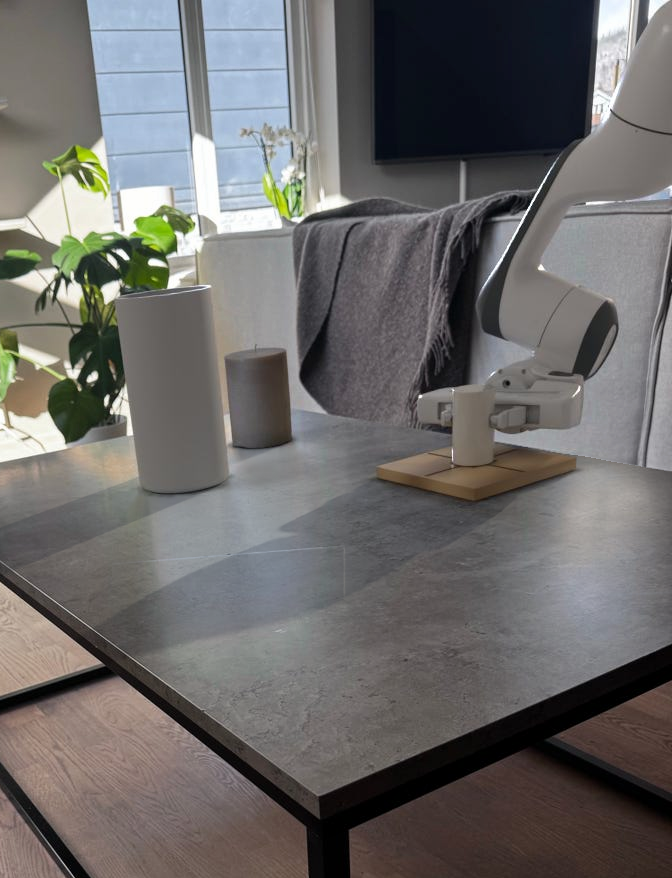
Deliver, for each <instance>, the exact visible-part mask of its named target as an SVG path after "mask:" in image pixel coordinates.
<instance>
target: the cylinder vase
mask: <svg viewBox="0 0 672 878" xmlns="http://www.w3.org/2000/svg"><path fill="white" fill-rule="evenodd" d="M212 294H213V293H212V286H211V285H193V286H180V287H171V288H163V289H154V290H147V291H140V292H135V293H134V292H133V293H129V294H124V295H119V296H116V297H113V301H114V307H115V314H116V322H117V327H118V328H117V329H118V335H119V336H118V338H119V343H120V349H121V350H120V351H121V357H122V365H123V372H124V378H125V387H126V393H127V400H128V408H129V414H130V422H131V429H132V436H133V443H134V452H135V457H136V465H137V472H138V480H139V485H140V486H141V487H142V488H143V489H144V490H146V491H148V492H151V493H156V494H183V493H191V492H197V491H202V490H206V489H209V488H212V487H215V486H217V485H220V484H221V483H223V482H224V481H225V480H226V479H227V478H228V477H229V474H230V466H229V456H228V447H227V435H226V426H225V417H224V406H223V397H222V386H221V375H220V367H219V366H220V364H219V355H218V346H217V345H218V343H217V336H216V335H217V334H216V325H215V315H214V314H215V313H214V305H213V303H214V302H213V295H212Z"/></svg>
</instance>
